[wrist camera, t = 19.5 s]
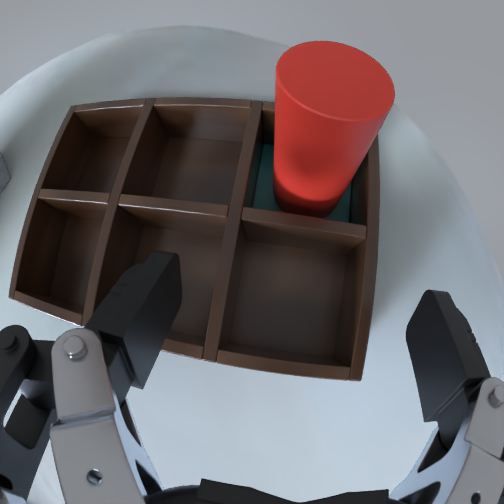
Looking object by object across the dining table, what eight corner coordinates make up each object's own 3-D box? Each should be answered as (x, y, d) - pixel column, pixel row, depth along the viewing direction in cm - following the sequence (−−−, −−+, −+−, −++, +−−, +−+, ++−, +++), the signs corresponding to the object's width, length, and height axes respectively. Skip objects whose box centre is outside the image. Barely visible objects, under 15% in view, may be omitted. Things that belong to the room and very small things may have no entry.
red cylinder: (268, 216, 16) (268, 108, 7) (277, 156, 17) (282, 33, 8) (337, 227, 16) (401, 133, 7) (340, 166, 17) (388, 53, 8)
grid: (47, 303, 16) (7, 297, 13) (96, 135, 19) (71, 105, 15) (339, 367, 15) (361, 381, 11) (358, 156, 17) (377, 119, 14)
